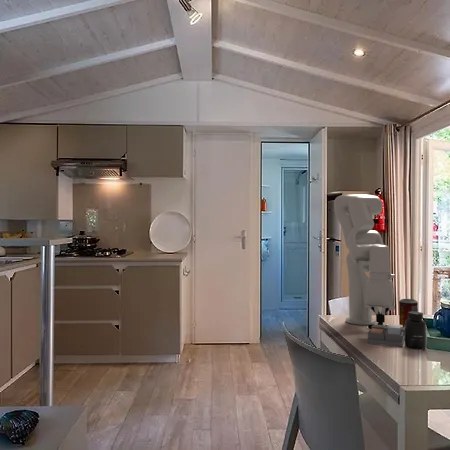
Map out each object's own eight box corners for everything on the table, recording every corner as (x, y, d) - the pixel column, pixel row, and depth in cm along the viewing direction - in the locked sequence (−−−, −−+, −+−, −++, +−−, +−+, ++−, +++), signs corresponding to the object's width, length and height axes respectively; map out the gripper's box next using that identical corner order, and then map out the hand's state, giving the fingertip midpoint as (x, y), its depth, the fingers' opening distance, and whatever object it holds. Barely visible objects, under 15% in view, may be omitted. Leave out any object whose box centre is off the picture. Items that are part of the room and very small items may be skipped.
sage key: (375, 329, 173) (375, 322, 173) (386, 329, 171) (386, 323, 171) (374, 331, 169) (374, 324, 169) (385, 332, 167) (385, 325, 167)
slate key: (389, 331, 161) (389, 324, 161) (400, 332, 159) (400, 325, 159) (388, 334, 157) (387, 327, 157) (399, 335, 156) (399, 328, 156)
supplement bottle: (417, 350, 148) (416, 315, 148) (400, 345, 154) (400, 311, 154) (430, 347, 151) (430, 313, 151) (413, 343, 157) (413, 309, 157)
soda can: (421, 330, 177) (421, 299, 177) (412, 332, 172) (412, 301, 173) (405, 327, 182) (404, 297, 182) (396, 329, 178) (395, 299, 178)
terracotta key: (372, 334, 164) (372, 328, 164) (383, 335, 162) (383, 329, 162) (370, 337, 160) (370, 330, 160) (382, 338, 158) (382, 331, 158)
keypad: (373, 331, 176) (373, 322, 176) (406, 334, 170) (406, 325, 170) (366, 343, 158) (366, 333, 158) (402, 346, 152) (402, 337, 152)
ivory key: (391, 330, 170) (391, 324, 170) (402, 331, 168) (402, 325, 168) (390, 332, 166) (390, 326, 166) (402, 333, 165) (401, 327, 165)
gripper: (401, 276, 170) (401, 324, 170) (361, 275, 177) (362, 321, 176) (399, 278, 163) (400, 327, 163) (358, 277, 170) (359, 324, 169)
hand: (380, 324), depth 170 cm, fingers closed
